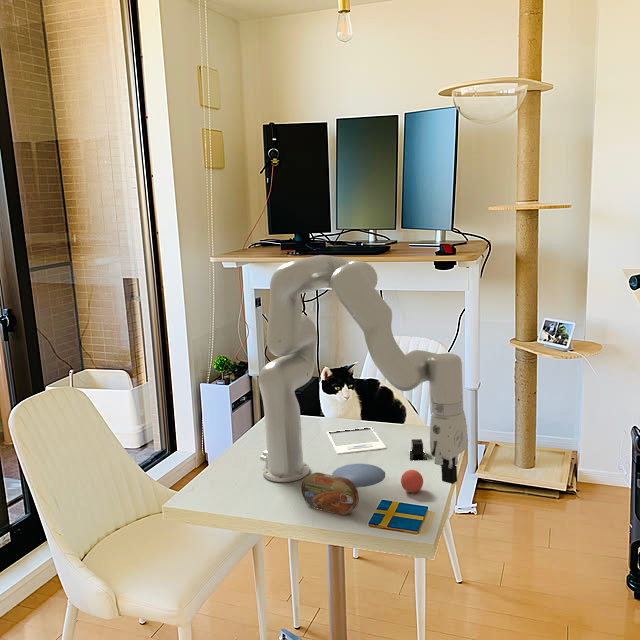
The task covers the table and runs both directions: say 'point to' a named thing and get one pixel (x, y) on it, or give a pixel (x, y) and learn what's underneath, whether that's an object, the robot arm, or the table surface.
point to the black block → (417, 450)
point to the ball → (412, 481)
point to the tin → (330, 493)
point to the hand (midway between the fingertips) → (449, 481)
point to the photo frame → (357, 445)
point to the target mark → (360, 474)
